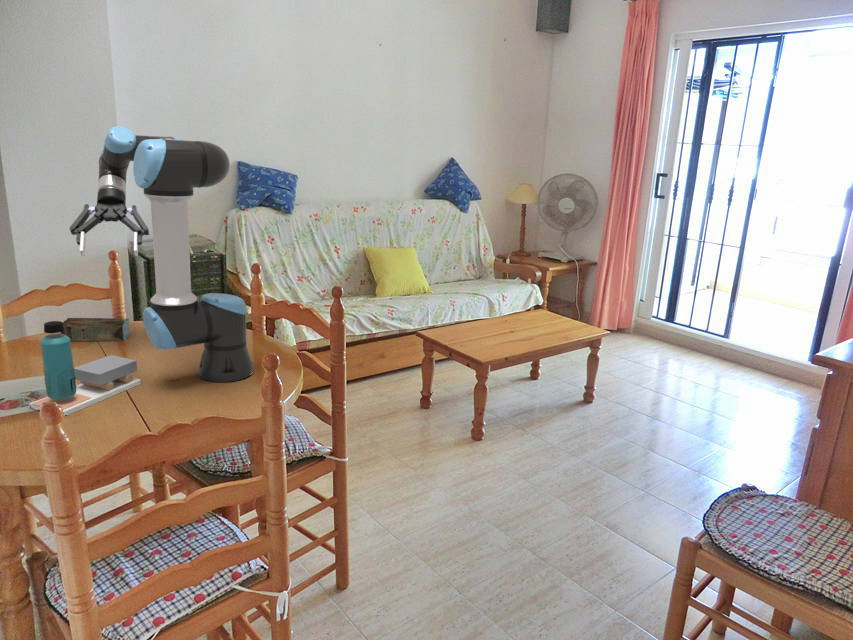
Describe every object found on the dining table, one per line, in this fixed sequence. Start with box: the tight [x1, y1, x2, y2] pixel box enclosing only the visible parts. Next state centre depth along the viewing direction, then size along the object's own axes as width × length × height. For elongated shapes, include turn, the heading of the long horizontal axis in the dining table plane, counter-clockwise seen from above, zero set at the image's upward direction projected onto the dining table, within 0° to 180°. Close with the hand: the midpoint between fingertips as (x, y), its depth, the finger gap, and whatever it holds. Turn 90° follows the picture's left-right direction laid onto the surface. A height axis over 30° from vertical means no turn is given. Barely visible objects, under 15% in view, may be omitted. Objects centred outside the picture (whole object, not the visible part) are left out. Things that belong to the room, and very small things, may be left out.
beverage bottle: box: [40, 320, 77, 399], centre depth 148 cm, size 6×7×20 cm
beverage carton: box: [60, 317, 131, 343], centre depth 201 cm, size 8×19×7 cm, turn 101°
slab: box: [74, 354, 138, 385], centre depth 162 cm, size 9×12×3 cm
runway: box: [28, 373, 142, 417], centre depth 158 cm, size 11×24×4 cm, turn 159°
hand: (109, 253), depth 173 cm, fingers open, 13 cm apart
